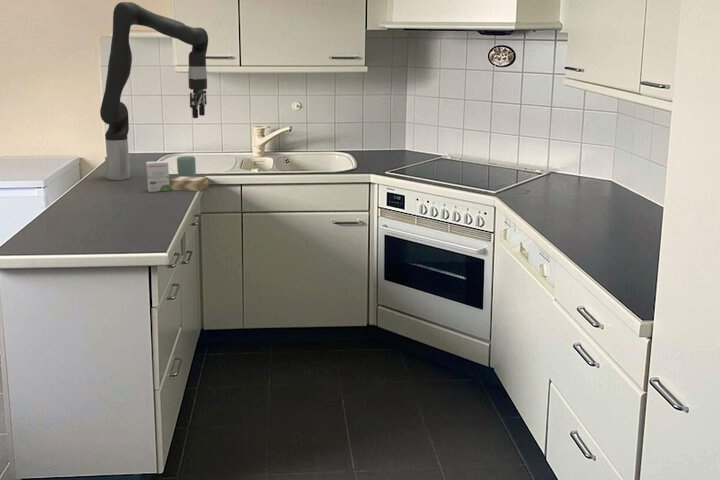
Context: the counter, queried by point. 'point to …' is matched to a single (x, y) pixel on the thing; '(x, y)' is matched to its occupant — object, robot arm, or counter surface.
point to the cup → (186, 166)
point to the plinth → (189, 183)
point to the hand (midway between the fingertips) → (198, 116)
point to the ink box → (158, 176)
